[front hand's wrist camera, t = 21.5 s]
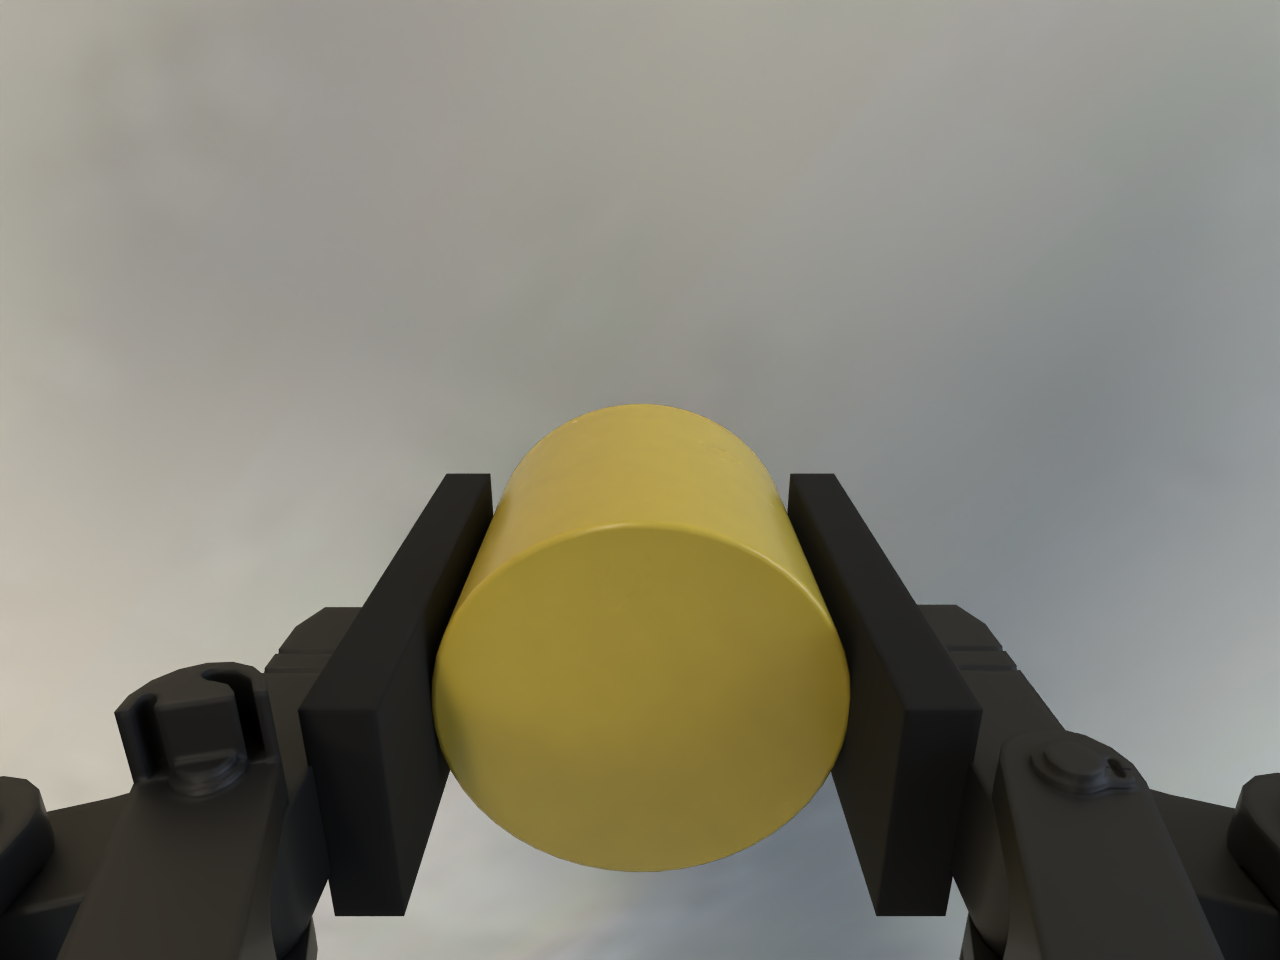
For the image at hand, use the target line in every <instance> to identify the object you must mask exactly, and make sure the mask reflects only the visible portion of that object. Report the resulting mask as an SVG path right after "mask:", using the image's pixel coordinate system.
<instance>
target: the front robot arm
mask: <svg viewBox="0 0 1280 960" xmlns="http://www.w3.org/2000/svg"><path fill="white" fill-rule="evenodd" d="M787 514H788V517H789V519H790V521H791V524H792V526H793V528H794V531H795V533H796V535H797V538H798V540H799V542H800V545H801V547H802V550H803V552H804V554H805V557H806V559H807V561H808V564H809V566H810V568H811V571H812V573H813V576H814V578H815V580H816V583H817V585H818V587H819V590H820V592H821V594H822V597H823V599H824V602H825V604H826V606H827V609H828V611H829V613H830V616H831V618H832V620H833V623H834V625H835V628H836V630H837V632H838V635H839V638H840V640H841V643H842V645H843V648H844V650H845V654H846V658H847V663H848V667H849V672H850V682H851V686H850V706H849V715H848V724H847V730H846V734H845V739H844V742H843V746H842V748H841V750H840V753H839V755H838V757H837V760H836V762H835V765H834V767H833V768H832V770H831V773H832V776H833V780H834V783H835V786H836V789H837V792H838V795H839V799H840V802H841V805H842V808H843V811H844V815H845V818H846V821H847V824H848V827H849V830H850V834H851V837H852V840H853V843H854V846H855V849H856V853H857V856H858V859H859V862H860V865H861V868H862V872H863V875H864V878H865V881H866V884H867V887H868V891H869V894H870V897H871V900H872V903H873V907H874V910H875V913H876V916H946V910H947V905H948V899H949V894H950V888H951V883H952V877H954V880H955V882H956V884H957V886H958V889H959V891H960V893H961V895H962V898H963V900H964V902H965V905H966V907H967V909H968V911H969V913H968V918H967V923H966V928H965V933H964V938H963V943H962V948H961V954H960V959H959V960H1280V773H1273V774H1265V775H1258V776H1255V777H1253V778H1252V779H1251V780H1250V781H1248V782H1247V783H1246V784H1245V785H1243V787H1242V790H1241V793H1240V796H1239V799H1238V802H1237V805H1236V808H1235V809H1234V808H1230V807H1225V806H1220V805H1216V804H1211V803H1206V802H1202V801H1197V800H1192V799H1188V798H1183V797H1179V796H1174V795H1169V794H1166V793H1162V792H1159V791H1155V790H1152V789H1149V787H1148V785H1147V783H1146V781H1145V780H1144V778H1143V777H1142V776H1141V774H1140V773H1139V772H1138V770H1137V769H1136V767H1135V766H1134V765H1133V764H1132V763H1131V762H1130V761H1128V760H1127V759H1126V758H1124V757H1123V756H1122V755H1120V754H1119V753H1118V752H1116V751H1115V750H1114V749H1113V748H1111V747H1109V746H1107V745H1105V744H1103V743H1100V742H1098V741H1096V740H1094V739H1092V738H1090V737H1088V736H1086V735H1082V734H1078V733H1074V732H1070V731H1066V730H1065V729H1064V728H1063V726H1062V725H1061V724H1060V722H1059V721H1058V720H1057V718H1056V717H1055V716H1054V714H1053V713H1052V712H1051V711H1050V709H1049V708H1048V707H1047V705H1046V704H1045V703H1044V701H1043V700H1042V699H1041V697H1040V696H1039V695H1038V693H1037V692H1036V691H1035V689H1034V688H1033V687H1032V685H1031V684H1030V683H1029V681H1028V680H1027V679H1026V677H1025V676H1024V675H1023V673H1022V672H1021V671H1020V670H1017V668H1016V664H1015V663H1014V662H1013V660H1012V659H1011V658H1010V656H1009V655H1008V654H1007V652H1006V651H1003V650H1002V646H1001V644H1000V643H999V642H998V640H997V639H996V638H995V636H994V635H993V634H992V632H991V631H990V630H989V628H988V627H987V626H986V624H984V623H983V622H981V621H980V620H978V619H977V618H975V617H974V616H972V615H971V614H969V613H968V612H966V611H965V610H963V609H962V608H960V607H959V606H957V605H917V604H916V603H915V601H914V600H913V598H912V596H911V595H910V593H909V592H908V590H907V588H906V587H905V585H904V584H903V582H902V581H901V579H900V577H899V576H898V574H897V573H896V571H895V569H894V568H893V566H892V565H891V563H890V562H889V560H888V558H887V557H886V555H885V554H884V552H883V550H882V549H881V547H880V546H879V544H878V543H877V541H876V539H875V538H874V536H873V535H872V533H871V532H870V530H869V528H868V527H867V525H866V524H865V522H864V520H863V519H862V517H861V516H860V514H859V513H858V511H857V509H856V508H855V506H854V505H853V503H852V501H851V500H850V498H849V497H848V495H847V494H846V492H845V490H844V489H843V487H842V486H841V484H840V482H839V481H838V479H837V478H836V476H835V475H834V474H790V484H789V499H788V513H787ZM492 518H493V505H492V491H491V477H490V474H446V475H445V477H444V479H443V480H442V482H441V483H440V485H439V486H438V488H437V490H436V491H435V493H434V494H433V496H432V498H431V499H430V501H429V502H428V504H427V505H426V507H425V509H424V510H423V512H422V513H421V515H420V517H419V518H418V520H417V521H416V523H415V524H414V526H413V528H412V529H411V531H410V532H409V534H408V536H407V537H406V539H405V540H404V542H403V543H402V545H401V547H400V548H399V550H398V551H397V553H396V555H395V556H394V558H393V559H392V561H391V562H390V564H389V566H388V567H387V569H386V570H385V572H384V574H383V575H382V577H381V578H380V580H379V581H378V583H377V585H376V586H375V588H374V589H373V591H372V593H371V594H370V596H369V597H368V599H367V600H366V602H365V604H364V605H363V607H325V608H323V609H322V610H320V611H319V612H317V613H316V614H314V615H313V616H311V617H310V618H308V619H307V620H305V621H304V622H302V623H301V624H299V625H298V626H296V627H295V628H294V630H293V631H292V632H291V634H290V635H289V636H288V638H287V639H286V640H285V642H284V643H283V644H282V646H281V647H280V648H279V654H275V655H274V657H273V658H272V659H271V661H270V662H269V663H268V665H267V666H266V667H265V672H264V673H261V672H259V671H258V670H257V669H256V668H254V667H253V666H249V665H244V664H240V663H235V662H219V663H205V664H200V665H196V666H192V667H187V668H183V669H179V670H176V671H174V672H171V673H169V674H166V675H164V676H161V677H159V678H157V679H154V680H152V681H150V682H149V683H147V684H145V685H144V686H142V687H141V688H139V689H138V690H136V691H135V692H133V693H132V694H130V695H129V696H128V697H127V698H126V699H125V700H124V701H123V703H122V704H121V705H120V706H119V707H118V708H117V710H116V711H115V712H114V714H115V717H116V721H117V724H118V728H119V732H120V735H121V739H122V742H123V746H124V749H125V753H126V757H127V760H128V764H129V767H130V771H131V774H132V778H133V782H134V784H133V786H132V789H131V791H130V793H127V794H124V795H120V796H117V797H113V798H109V799H104V800H100V801H95V802H91V803H86V804H81V805H77V806H72V807H67V808H63V809H58V810H54V811H49V812H46V809H45V806H44V803H43V800H42V797H41V794H40V791H39V789H38V788H37V787H35V786H34V785H33V784H32V783H30V782H29V781H28V780H27V779H20V778H13V777H6V776H2V777H0V960H316V959H317V950H318V948H317V941H316V934H315V928H314V923H313V918H312V915H313V912H314V910H315V908H316V906H317V903H318V901H319V899H320V896H321V894H322V892H323V890H324V887H325V885H326V883H327V880H329V885H330V891H331V896H332V902H333V907H334V913H335V916H404V915H405V911H406V908H407V905H408V902H409V899H410V896H411V892H412V889H413V886H414V883H415V880H416V876H417V873H418V870H419V867H420V864H421V861H422V857H423V854H424V851H425V848H426V845H427V842H428V838H429V835H430V832H431V829H432V826H433V823H434V819H435V816H436V813H437V810H438V807H439V803H440V800H441V797H442V794H443V791H444V788H445V784H446V781H447V778H448V775H449V772H450V768H449V766H448V763H447V761H446V759H445V757H444V755H443V753H442V750H441V747H440V744H439V741H438V737H437V734H436V730H435V727H434V720H433V712H432V703H431V686H432V675H433V669H434V664H435V659H436V655H437V652H438V649H439V646H440V644H441V641H442V638H443V635H444V632H445V630H446V628H447V625H448V623H449V621H450V618H451V616H452V613H453V611H454V609H455V606H456V604H457V602H458V599H459V597H460V594H461V592H462V590H463V587H464V585H465V582H466V580H467V578H468V575H469V573H470V571H471V568H472V566H473V563H474V561H475V559H476V556H477V554H478V552H479V549H480V547H481V544H482V542H483V540H484V537H485V535H486V532H487V530H488V528H489V525H490V523H491V521H492Z"/></svg>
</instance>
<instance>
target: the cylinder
mask: <svg viewBox="0 0 1280 960" xmlns="http://www.w3.org/2000/svg"><path fill="white" fill-rule="evenodd" d="M850 686H851V682H850V672H849V667H848V663H847V658H846V654H845V650H844V648H843V645H842V643H841V640H840V638H839V635H838V632H837V630H836V628H835V625H834V623H833V620H832V618H831V616H830V613H829V611H828V609H827V606H826V604H825V602H824V599H823V597H822V594H821V592H820V590H819V587H818V585H817V583H816V580H815V578H814V576H813V573H812V571H811V568H810V566H809V564H808V561H807V559H806V557H805V554H804V552H803V550H802V547H801V545H800V542H799V540H798V538H797V535H796V533H795V531H794V528H793V526H792V524H791V521H790V519H789V517H788V514H787V512H786V509H785V507H784V505H783V502H782V500H781V498H780V495H779V493H778V491H777V488H776V486H775V483H774V481H773V480H772V478H771V476H770V475H769V473H768V471H767V469H766V468H765V466H764V465H763V464H762V462H761V461H760V460H759V458H758V457H757V456H756V455H755V453H754V452H753V451H752V450H751V449H750V448H749V447H748V446H747V445H746V444H745V443H744V442H743V441H741V440H740V439H739V438H738V437H737V436H735V435H734V434H732V433H731V432H730V431H728V430H727V429H726V428H724V427H722V426H721V425H719V424H717V423H715V422H713V421H711V420H710V419H708V418H705V417H703V416H700V415H698V414H695V413H692V412H690V411H686V410H682V409H678V408H674V407H670V406H663V405H654V404H626V405H619V406H612V407H607V408H603V409H600V410H596V411H592V412H589V413H586V414H584V415H582V416H579V417H577V418H574V419H572V420H570V421H568V422H567V423H565V424H563V425H561V426H560V427H558V428H556V429H555V430H553V431H552V432H551V433H549V434H548V435H547V436H545V437H544V438H543V439H542V440H540V441H539V442H538V443H537V444H536V445H535V446H534V447H533V448H532V449H531V450H530V451H529V452H528V453H527V454H526V455H525V457H524V458H523V459H522V461H521V462H520V463H519V465H518V466H517V467H516V469H515V470H514V472H513V474H512V476H511V478H510V480H509V481H508V483H507V485H506V487H505V490H504V492H503V494H502V497H501V499H500V501H499V504H498V506H497V509H496V511H495V513H494V516H493V518H492V521H491V523H490V525H489V528H488V530H487V532H486V535H485V537H484V540H483V542H482V544H481V547H480V549H479V552H478V554H477V556H476V559H475V561H474V563H473V566H472V568H471V571H470V573H469V575H468V578H467V580H466V582H465V585H464V587H463V590H462V592H461V594H460V597H459V599H458V602H457V604H456V606H455V609H454V611H453V613H452V616H451V618H450V621H449V623H448V625H447V628H446V630H445V632H444V635H443V638H442V641H441V644H440V646H439V649H438V652H437V655H436V659H435V664H434V669H433V675H432V686H431V703H432V712H433V720H434V727H435V730H436V734H437V737H438V741H439V744H440V747H441V750H442V753H443V755H444V757H445V759H446V761H447V763H448V766H449V768H450V770H451V772H452V773H453V775H454V776H455V778H456V779H457V781H458V783H459V784H460V786H461V787H462V789H463V790H464V791H465V793H466V794H467V795H468V796H469V797H470V798H471V800H472V801H473V802H474V803H475V804H476V805H477V807H478V808H479V809H480V810H482V811H483V812H484V813H485V814H486V815H487V816H488V817H489V818H490V819H491V820H493V821H494V822H495V823H496V824H497V825H499V826H500V827H502V828H503V829H504V830H506V831H507V832H509V833H510V834H511V835H513V836H514V837H516V838H518V839H519V840H521V841H523V842H525V843H527V844H528V845H530V846H532V847H534V848H536V849H538V850H540V851H543V852H545V853H548V854H550V855H552V856H555V857H557V858H560V859H563V860H567V861H570V862H573V863H577V864H580V865H584V866H589V867H594V868H600V869H605V870H614V871H626V872H659V871H668V870H677V869H683V868H688V867H693V866H697V865H702V864H706V863H709V862H712V861H715V860H719V859H722V858H725V857H728V856H730V855H733V854H735V853H737V852H739V851H742V850H744V849H746V848H748V847H750V846H752V845H754V844H756V843H757V842H759V841H761V840H763V839H764V838H766V837H768V836H769V835H771V834H773V833H774V832H775V831H777V830H778V829H779V828H781V827H782V826H783V825H785V824H786V823H787V822H789V821H790V820H791V819H792V818H793V817H794V816H795V815H796V814H797V813H798V812H799V811H800V810H801V809H803V808H804V807H805V806H806V805H807V804H808V803H809V801H810V800H811V799H812V798H813V796H814V795H815V794H816V793H817V791H818V790H819V789H820V788H821V786H822V785H823V783H824V782H825V780H826V778H827V777H828V775H829V773H830V772H831V770H832V768H833V767H834V765H835V762H836V760H837V757H838V755H839V753H840V750H841V748H842V746H843V742H844V739H845V734H846V730H847V724H848V715H849V706H850Z"/></svg>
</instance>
